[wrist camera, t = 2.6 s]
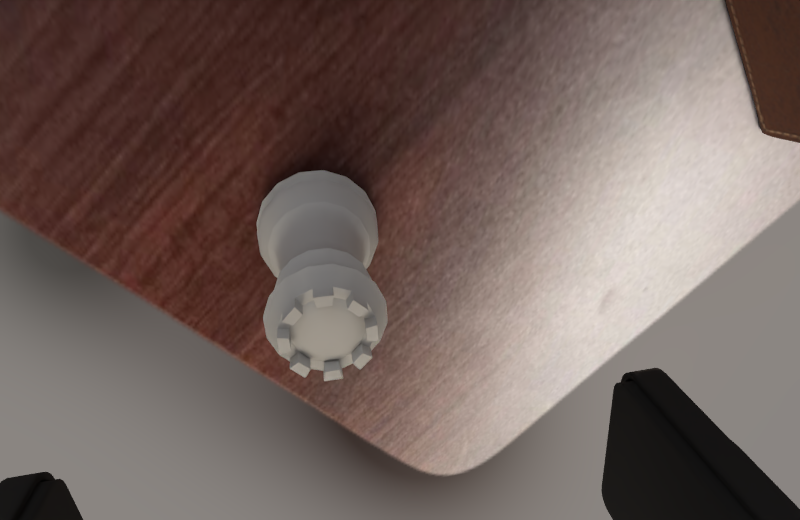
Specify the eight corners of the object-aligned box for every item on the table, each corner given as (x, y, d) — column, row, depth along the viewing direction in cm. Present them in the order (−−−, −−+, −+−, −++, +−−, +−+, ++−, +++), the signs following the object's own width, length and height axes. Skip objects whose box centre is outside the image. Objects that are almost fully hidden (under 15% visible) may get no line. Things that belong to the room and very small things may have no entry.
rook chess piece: (310, 296, 22) (317, 437, 15) (231, 216, 20) (194, 335, 13) (398, 230, 21) (450, 343, 14) (325, 141, 19) (341, 221, 12)
